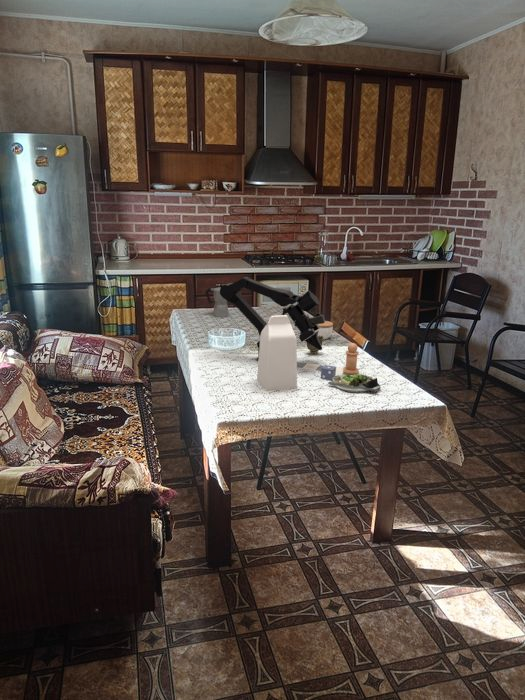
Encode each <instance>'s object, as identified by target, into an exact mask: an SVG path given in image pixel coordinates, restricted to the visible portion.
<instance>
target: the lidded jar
mask: <svg viewBox="0 0 525 700" xmlns="http://www.w3.org/2000/svg"><path fill="white" fill-rule="evenodd" d="M317 325H318V326H319V329H317V330H316V331H315V332H317V331H318V330H319V332H318V337H319V336H320V337H321V336H322V337H323V339H326V340H328V339H329V338H330V336H331V335H332V333H333V330H334V329H333V328H334V327H333V326H334V323H333V322H332V321H329V320H325V323H323V324H317Z"/></svg>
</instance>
